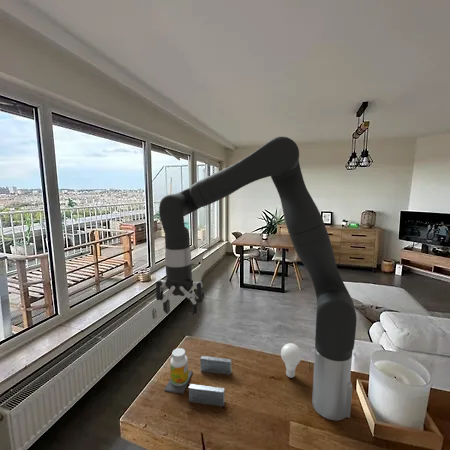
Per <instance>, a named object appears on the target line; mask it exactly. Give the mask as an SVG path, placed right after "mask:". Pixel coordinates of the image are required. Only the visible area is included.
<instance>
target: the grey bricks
mask: <svg viewBox="0 0 450 450" xmlns="http://www.w3.org/2000/svg"><path fill="white" fill-rule="evenodd" d="M199 360H200V372H204V373H211V374H222V375H229V376H230V375H232V358H224V357H223V358H222V357H215V356H207V355H206V356H205V355H201V357H200V359H199ZM225 400H226V399H225V388H224V387H218V386H217V387H216V386H208V385H203V384H202V385H201V384H195V383H189V386H188V402H189V403H195V404H196V403H197V404H202V405H208V406H209V405H211V406H217V407H225V403H226V402H225Z"/></svg>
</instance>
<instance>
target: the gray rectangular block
mask: <svg viewBox="0 0 450 450" xmlns="http://www.w3.org/2000/svg"><path fill="white" fill-rule="evenodd" d="M192 375H193V370H188V381H187V382H186V383H185V384H184V385H181V386H176V385H173V384H172V382H171V377H170V378H169V380H168V381H167V384H166V386H165V387H164V392H169V393H175V394H181V395H182V394H183V395H184V394H185V392H186V389H187V386H188V384H189V382H190V379H191V378H192Z"/></svg>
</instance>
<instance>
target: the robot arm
mask: <svg viewBox="0 0 450 450" xmlns="http://www.w3.org/2000/svg"><path fill="white" fill-rule="evenodd" d="M301 169H302V168H301V164H300V149H299V146H298V145H297V143H296V142H295V140H293V139H291V138H289V137H287V136H277V137H273V138H272V139H270V140H269V141H267V142H266V143H265V144H263V145H262V146H260V147H259V148H258V149H256V150H255V151H253V152H252V153H250V154H248V156H246V157H244V158H243V159H240V160H238V161H237V162H235V163H234V164H232V165H230V166H228V167H226V168H224V169H221V170H219V171H217V172H215V173H213V174H211V175H209V176H206V177H204V178H203V179H200V180H198V181H196V182H195V183H193V184H192V185H191V186H190V187H187V188H186V189H184V190H181V191H179V192H177V193H171V194H167V195H164V196H163V197H162V199H161V200H160V202H159V206H158V211H159V212H158V213H159V217H160V218H159V219H160V222H161V225H162V229H163V233H164V244H165V245H164V246H165V251H164V265H165V278H166V280H165V279H163V278H159V279H158V280H157V281H156V282H155V290H156V291H155V296H156V297H155V299H156V301H161V302H162V309H163V312H164V314H165V315H168V314H169V313H170V311H171V303H170V299H169V298H170V297H171V295H173V296H176V297H177V296H180V297H186V298H187V299H188V300H190V302H191V303H192V304H191V310H192V311H191V313H192V316H196V315H197V314H198V312H199V304H200V303H203V300H204V299H205V292H204V291H205V289H204V281H203V280H201V279H200V280H199V281H194V279H193V269H192V267H193V266H192V251H191V245H190V243H191V241H190V230H189V228H187V227H186V226H185V225H186V224H185V218H184V217H186V216H188V215H189V214H192V213H194V212H195V211H197V210H199V209H201V208H204V207H207V206H209V205H212V204H214V203H216V202H218V201H220V200H222V199H224V198H226V197H228V196H230V195H232V194H233V193H236V192H237V191H239V190H240V189H242V188H244V187H245V186H248V185H249V184H252V183H254V182H256V181H259V180H262V179H266V178H269V177H271V180H272V182H273V185H274V187H275V188H276V191H277V194H278V196H279V198H280V203H281V208H282V212H283V218H284V222H285V225H286V229H287V231H288V235H289V238H290V240H291V242H292V246H293V248H294V250H295V252H296V254H297V256H298V258H299V259H300V261H301V263H302V264H303V265H304V267H305V269H306V270H307V272H308V273H309V276H310V278H311V281H312V286H313V288H314V292H315V297H316V301H317V303H316V316H315V335H314V336H315V339H314V358H313V359H314V360H313V361H314V362H313V379H312V396H311V398H312V399H311V403H312V407H313V408H314V410H315V412H316V413H317V414H319V415H320V416H321V417H323V418H325V419H327V420H331V421H341V420H343V419H347V418H350V417H351V411H352V395H353V384H352V381H351V375H352V361H353V360H352V359H353V350H354V349H355V341H356V332H357V312H356V308H355V303H354V300H353V298H352V297H351V295H350V293H349V291H348V289H347V287H346V285H345V283H344V281H343V279H342V276H341V274H340V272H339V269H338V266H337V263H336V262H337V261H336V258H335V253H334V250H333V245H332V242H331V239H330V236H329V232H328V230H327V226H326V225H325V221H324V219H323V217H322V215H321V214H322V213H320V211H319V209H318V206H317V204H316V203H315V200H313V197H312V196H311V194H310V192H309V189H307V186H306V182H305V180H304V176H303V172H302V170H301ZM164 287H166V288H167V289H168V290H167V292H166V294H164ZM193 287H194V289H195V290H196V291H197V292H195V290H194V289H192V288H193ZM196 293H197V295H196Z"/></svg>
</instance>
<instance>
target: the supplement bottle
mask: <svg viewBox="0 0 450 450" xmlns="http://www.w3.org/2000/svg"><path fill="white" fill-rule="evenodd" d="M171 356H172V357H171V358H170V361H169V363H170V364H169V365H170V378H171V382H172V384H173V385H176V386H181V385H184V384H185V383H186V382H187V381H188V371H189V358H188V356H187V355H186V350H185V349H184V348H182V347H178V348H175V349H173V350H172V353H171Z"/></svg>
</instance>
